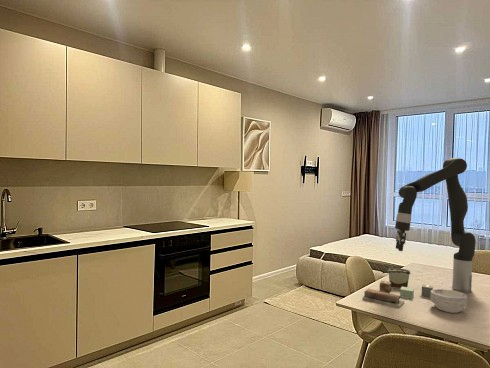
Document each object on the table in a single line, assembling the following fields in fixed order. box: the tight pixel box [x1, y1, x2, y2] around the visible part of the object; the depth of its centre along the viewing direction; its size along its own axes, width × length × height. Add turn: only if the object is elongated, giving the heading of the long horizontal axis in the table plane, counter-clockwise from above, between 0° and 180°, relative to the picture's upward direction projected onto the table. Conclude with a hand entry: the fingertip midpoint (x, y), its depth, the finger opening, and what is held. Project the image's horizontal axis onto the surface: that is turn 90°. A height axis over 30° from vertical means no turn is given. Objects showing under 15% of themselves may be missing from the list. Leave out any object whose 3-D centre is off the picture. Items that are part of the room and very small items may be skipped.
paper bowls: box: [429, 288, 468, 314], centre depth 170 cm, size 15×15×8 cm
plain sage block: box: [399, 287, 415, 299], centre depth 188 cm, size 6×6×4 cm
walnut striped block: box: [378, 280, 392, 294], centre depth 194 cm, size 5×5×5 cm
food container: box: [387, 267, 411, 289], centre depth 205 cm, size 12×6×10 cm, turn 84°
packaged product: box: [362, 288, 405, 309], centre depth 178 cm, size 18×5×10 cm
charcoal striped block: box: [421, 284, 434, 298], centre depth 190 cm, size 5×5×5 cm
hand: (398, 249), depth 200 cm, fingers open, 8 cm apart
